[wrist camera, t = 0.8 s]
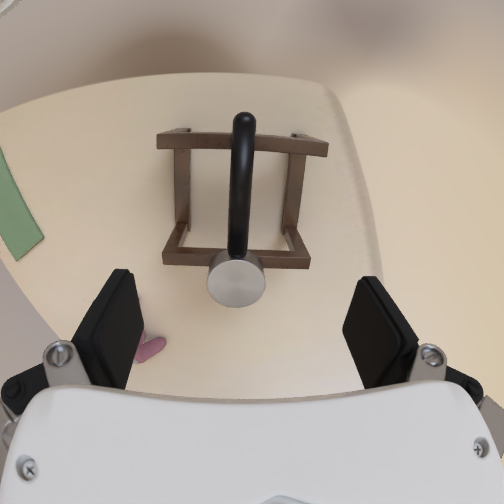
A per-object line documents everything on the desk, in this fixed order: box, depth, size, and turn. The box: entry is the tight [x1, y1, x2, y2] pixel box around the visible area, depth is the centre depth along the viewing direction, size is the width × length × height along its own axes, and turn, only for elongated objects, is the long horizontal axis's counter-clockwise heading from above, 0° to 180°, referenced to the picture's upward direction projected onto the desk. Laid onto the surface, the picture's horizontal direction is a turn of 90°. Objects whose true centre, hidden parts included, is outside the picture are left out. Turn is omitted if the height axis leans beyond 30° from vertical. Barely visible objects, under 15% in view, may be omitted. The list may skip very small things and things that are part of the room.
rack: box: [157, 128, 329, 269], centre depth 25 cm, size 11×13×8 cm
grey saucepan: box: [207, 112, 265, 308], centre depth 21 cm, size 16×5×2 cm, turn 176°
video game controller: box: [133, 298, 166, 364], centre depth 35 cm, size 10×5×7 cm, turn 16°
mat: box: [0, 149, 44, 261], centre depth 26 cm, size 16×9×1 cm, turn 23°
